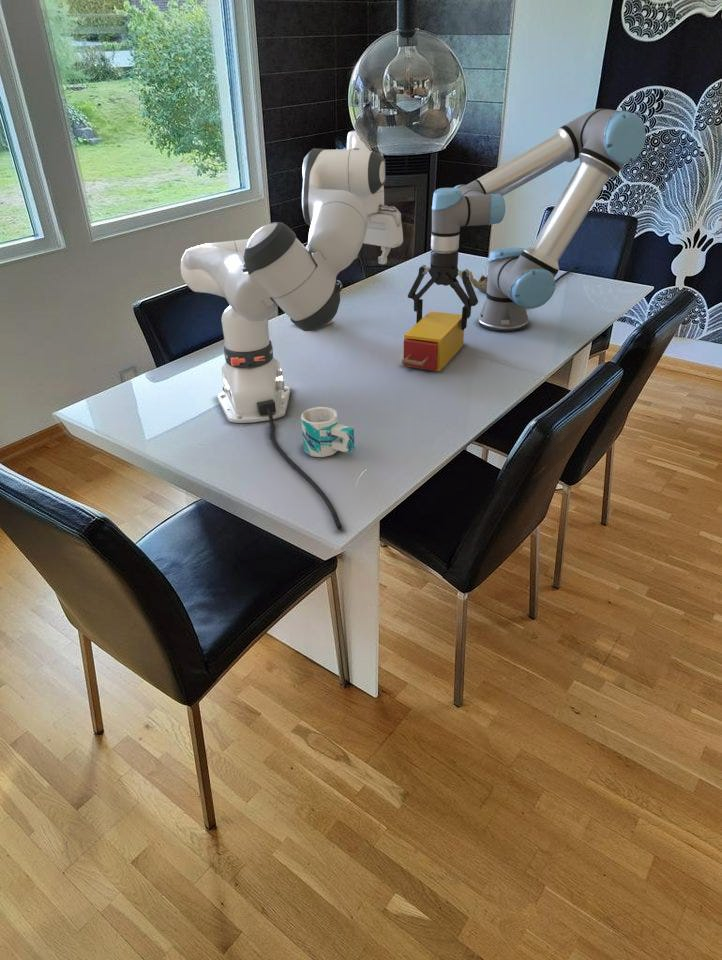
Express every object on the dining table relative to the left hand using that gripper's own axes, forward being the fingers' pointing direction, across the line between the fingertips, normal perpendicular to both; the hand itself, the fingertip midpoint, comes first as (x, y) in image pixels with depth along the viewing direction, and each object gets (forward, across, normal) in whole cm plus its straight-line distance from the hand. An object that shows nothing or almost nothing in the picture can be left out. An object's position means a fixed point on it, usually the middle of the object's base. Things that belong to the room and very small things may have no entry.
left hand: (368, 261), depth 171 cm
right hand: (+23, -7, -24) cm, 34 cm away
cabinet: (+30, -9, -18) cm, 36 cm away
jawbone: (+29, +9, -78) cm, 83 cm away
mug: (+30, -21, +41) cm, 54 cm away
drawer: (+29, -10, -13) cm, 33 cm away
